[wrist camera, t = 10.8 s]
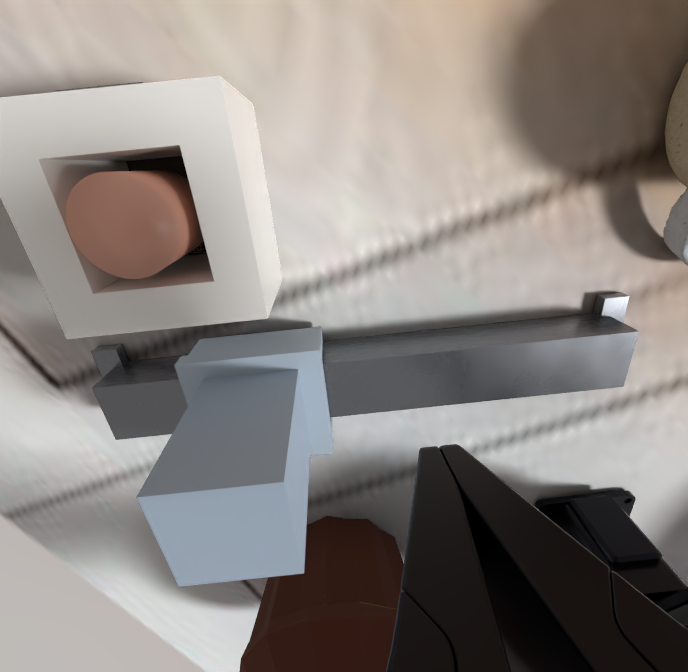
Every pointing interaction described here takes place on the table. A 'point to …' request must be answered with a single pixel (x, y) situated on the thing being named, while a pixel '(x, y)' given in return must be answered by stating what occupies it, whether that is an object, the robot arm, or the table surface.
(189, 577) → the carriage
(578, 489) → the table surface
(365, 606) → the muffin
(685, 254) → the ceramic mug
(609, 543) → the robot arm
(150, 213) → the button
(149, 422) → the rail
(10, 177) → the white button housing
